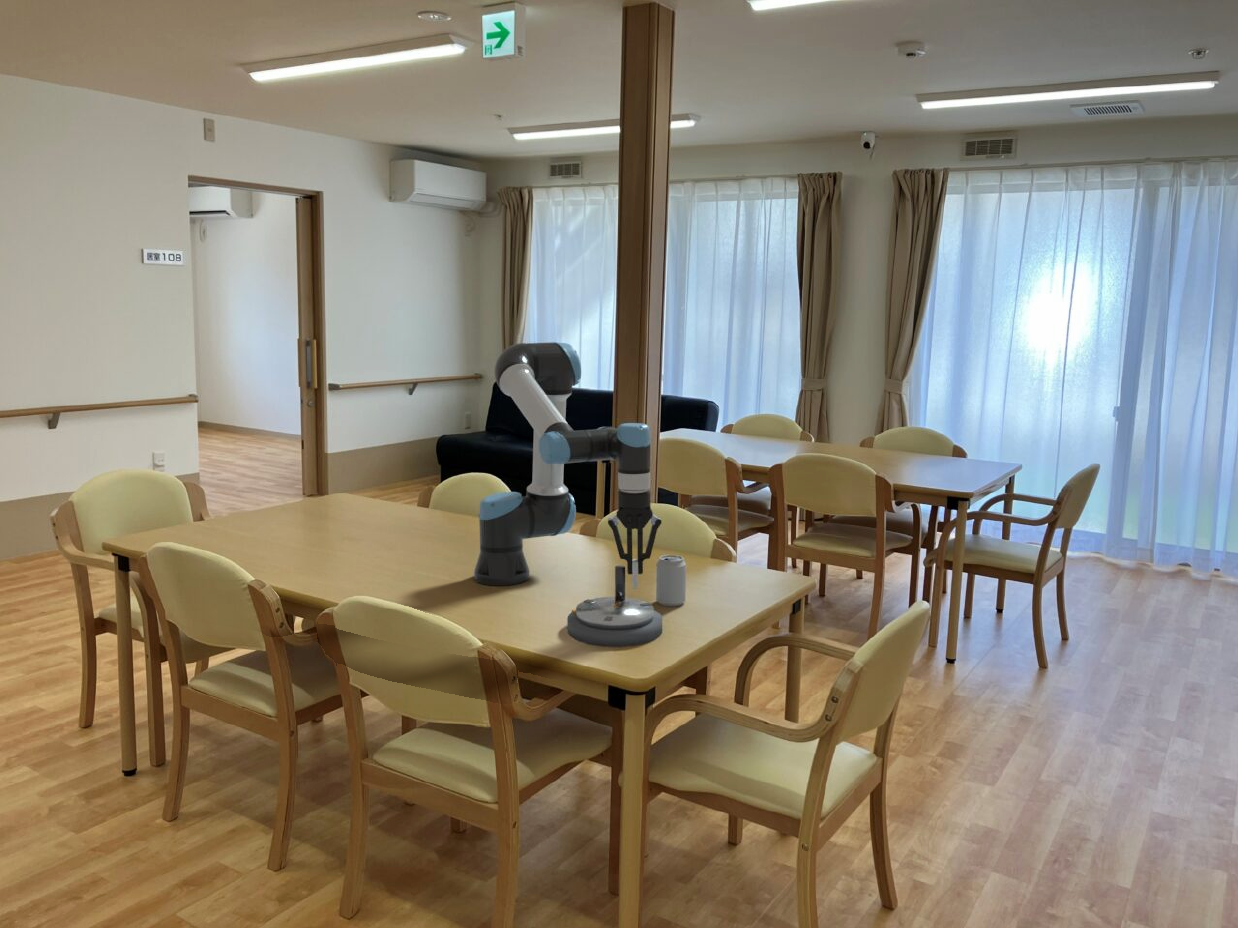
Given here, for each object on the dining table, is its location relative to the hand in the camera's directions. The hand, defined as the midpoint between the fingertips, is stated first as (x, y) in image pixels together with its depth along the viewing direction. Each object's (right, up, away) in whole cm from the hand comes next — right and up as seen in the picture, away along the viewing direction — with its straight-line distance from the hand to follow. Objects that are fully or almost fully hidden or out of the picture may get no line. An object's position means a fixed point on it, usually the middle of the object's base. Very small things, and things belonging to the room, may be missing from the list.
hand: (635, 587), depth 230 cm
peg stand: (-5, -6, -6) cm, 10 cm away
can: (+9, -6, +16) cm, 19 cm away
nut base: (-5, -9, -5) cm, 12 cm away
